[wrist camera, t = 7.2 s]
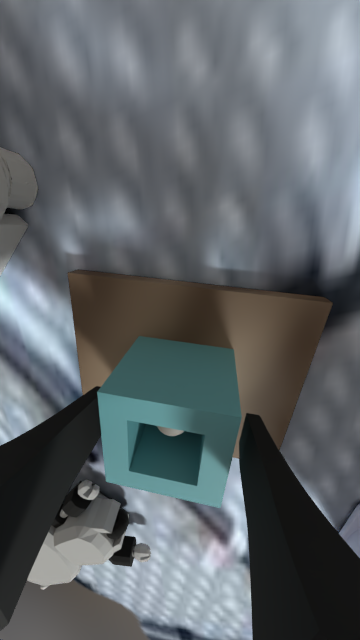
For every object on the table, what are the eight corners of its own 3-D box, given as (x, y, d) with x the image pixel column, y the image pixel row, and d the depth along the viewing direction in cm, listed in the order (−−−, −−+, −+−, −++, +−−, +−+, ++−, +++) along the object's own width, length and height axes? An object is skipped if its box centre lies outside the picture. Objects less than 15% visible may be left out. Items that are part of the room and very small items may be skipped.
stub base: (324, 297, 12) (388, 339, 7) (270, 452, 16) (289, 536, 12) (77, 269, 13) (7, 290, 9) (93, 417, 18) (52, 479, 14)
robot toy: (103, 446, 21) (-7, 480, 25) (78, 499, 17) (-51, 531, 20) (163, 524, 24) (58, 544, 28) (155, 585, 20) (33, 599, 24)
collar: (233, 349, 13) (241, 417, 8) (220, 422, 15) (220, 507, 10) (139, 336, 13) (97, 391, 9) (139, 407, 16) (106, 481, 11)
